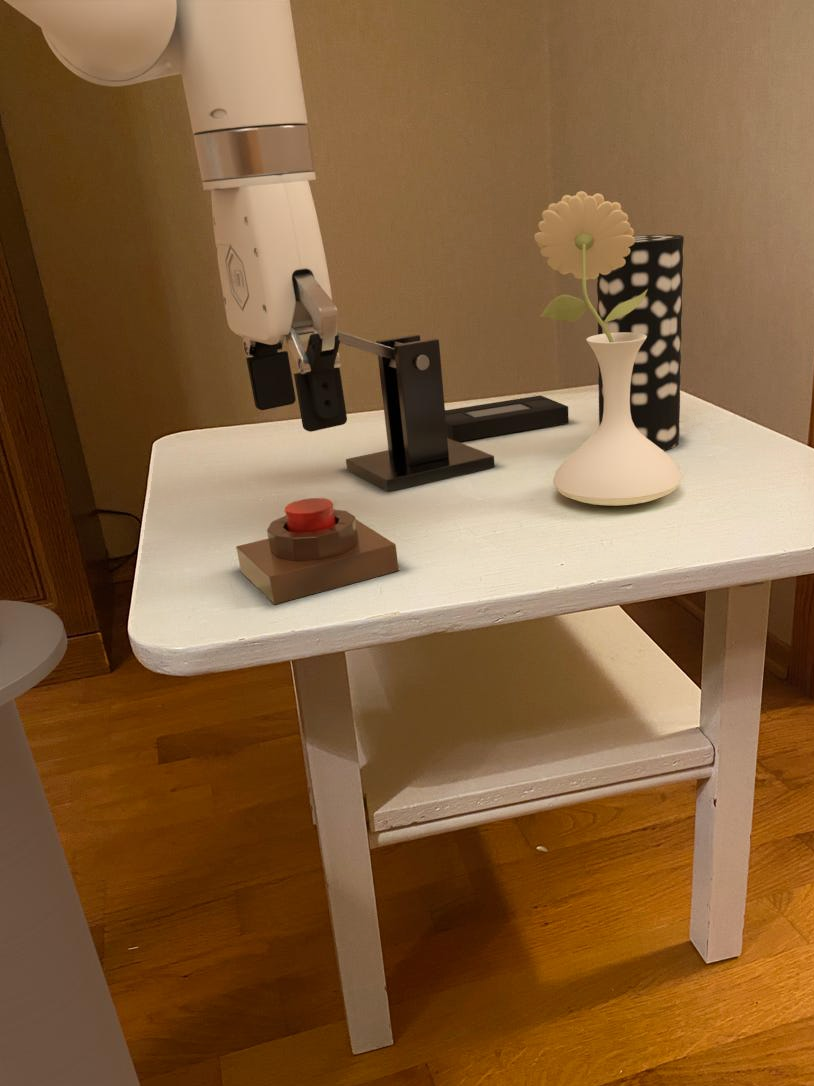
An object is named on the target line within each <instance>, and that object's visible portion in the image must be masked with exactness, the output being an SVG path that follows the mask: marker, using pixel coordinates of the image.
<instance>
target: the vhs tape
mask: <svg viewBox="0 0 814 1086" xmlns="http://www.w3.org/2000/svg"><path fill="white" fill-rule="evenodd" d="M445 417H446V429H447V438H449V439H452V440H454V441H457V442H459V443H460V442H465V441H471V440H476V439H481V438H482V439H483V438H488V437H489V438H490V437H494V436H500V435H505V434H512V433H518V432H523V431H529V430H535V429H541V428H547V427H552V426H553V427H554V426H559V425H565V424H569V423H570V422H569V406H568V405H566V404H564V403H561V402H559V401H556V400H553V399H551V398H549V397H546V396H543V395H534V396H527V397H520V398H514V399H508V400H501V401H495V402H488V403H483V404H476V405H471V406H464V407H457V408H451V409H445Z"/></svg>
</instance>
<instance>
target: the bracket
mask: <svg viewBox="0 0 814 1086" xmlns="http://www.w3.org/2000/svg"><path fill="white" fill-rule="evenodd" d="M395 342H399V343H403V344H397V345H394V344H395ZM375 343H378V344H381V345H384V346H387V347H391V348H394V353H395V362H396V368H393V367H390V366H389V363H390V360H391V359H389V358H386V357H383V356H379V355H377V360H378V369H379V378H380V387H381V396H382V405H383V414H384V422H385V432H386V440H387V449H386V450H383V451H382V450H381V451H378V452H373V453H368V454H363V455H359V456H354V457H349V458H345V464H346V470H347V471H348V472H350V473H352V474H354V475H355V476H357V477H359V478H361V479H363V480H365V481H367V482H368V483H371V484H372V485H374V486H376V487H378V488H380V489H382V490H384V491H385V492H387V493H390V492H394V491H398V490H403V489H407V488H410V487H412V488H413V487H416V486H419V485H420V486H421V485H424V484H429V483H434V482H438V481H441V480H446V479H449V478H454V477H459V476H463V475H467V474H471V473H476V472H480V471H486V470H488V469H489V470H490V469H492V468H495V467H496V466H495V465H496V464H495V456H494V455H493V454H490V453H487V452H485V451H482V450H480V449H477V448H475V447H472V446H470V445H467V444H465V443H462V442H460V441H459V442H457V441H454V440H452V439H449V438H447V429H446V417H445V410H446V407H445V406H446V405H445V395H444V384H443V371H442V360H441V348H440V339H438V338H429V339H423V340H421V335H419V334H409V335H403V336H397V337H391V338H384V339H378V340H376V342H375Z"/></svg>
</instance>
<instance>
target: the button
mask: <svg viewBox="0 0 814 1086" xmlns="http://www.w3.org/2000/svg"><path fill="white" fill-rule="evenodd" d="M334 509H335V508H334V503H333V501H332V500H330V499H328V498H324V497H323V498H321V497H313V498H304V499H299V500H295V501H293V502H290V503H288V504H287V505H285V507H284V513H285V514H284V515H286V520H287V526H288V531H290V532H297V533H304V532H316V531H320V530H324V529H328V528H330V527H332V526H334V525H336V523H335V516H334Z"/></svg>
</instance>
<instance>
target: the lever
mask: <svg viewBox="0 0 814 1086" xmlns="http://www.w3.org/2000/svg"><path fill="white" fill-rule="evenodd" d="M337 335H338V336H339V340H340V344H341V345H344V346H347V347H351V348H352V349H357V350H360V351H363V352H366V353H370V354H373V355H377V356H378V355H379V356H383V357H386V358H389V359H391V360H390V363H389V366H390V367H393V368H396V362H395V353H394V348H391V347H387V346H384V345H381V344H378V343H376V342H374V341H371V340H368V339H365V338H362V337H359V336H356V335H352V334H349V333H346V332H343V331H340V330H337ZM397 344H403V343H399V342H395V344H394V345H397Z"/></svg>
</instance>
